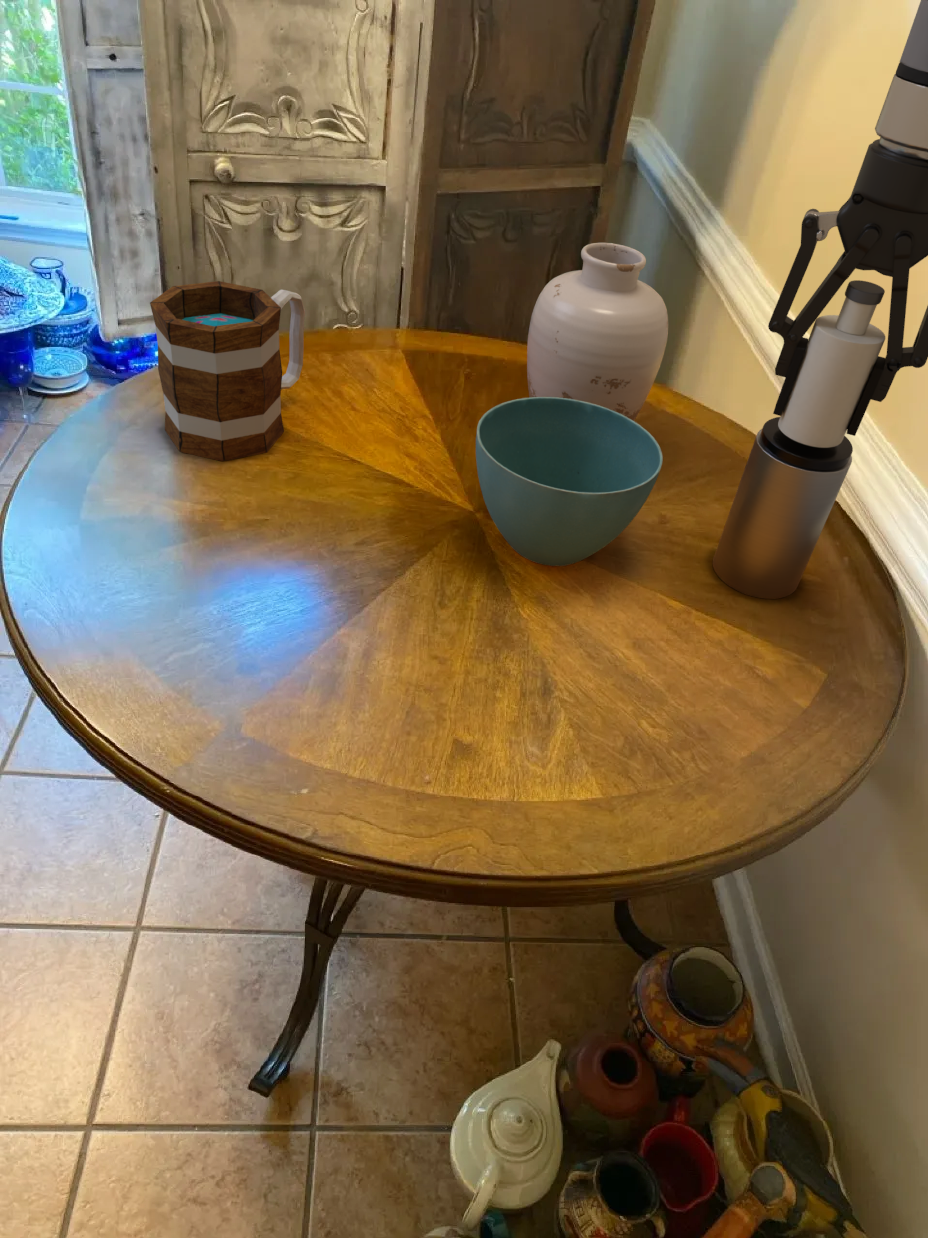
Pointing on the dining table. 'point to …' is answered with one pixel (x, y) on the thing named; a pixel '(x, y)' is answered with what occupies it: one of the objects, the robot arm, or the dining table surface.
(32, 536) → the dining table surface
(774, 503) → the metal canister
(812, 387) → the bottle
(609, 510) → the plant pot
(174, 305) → the mug
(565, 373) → the vase
